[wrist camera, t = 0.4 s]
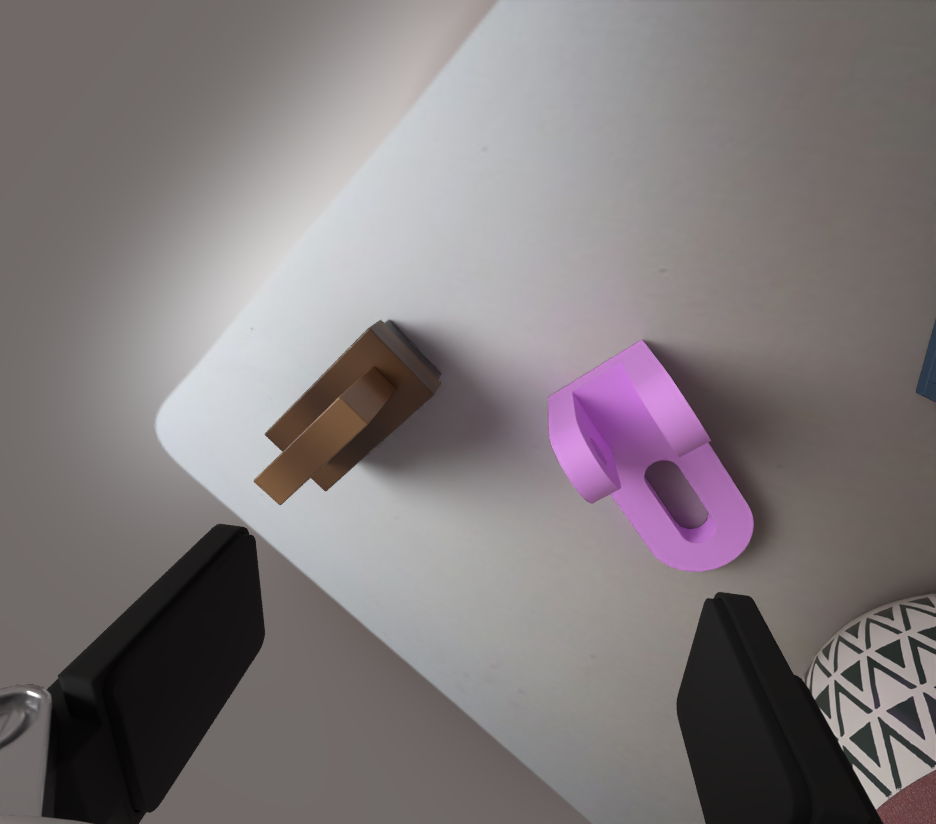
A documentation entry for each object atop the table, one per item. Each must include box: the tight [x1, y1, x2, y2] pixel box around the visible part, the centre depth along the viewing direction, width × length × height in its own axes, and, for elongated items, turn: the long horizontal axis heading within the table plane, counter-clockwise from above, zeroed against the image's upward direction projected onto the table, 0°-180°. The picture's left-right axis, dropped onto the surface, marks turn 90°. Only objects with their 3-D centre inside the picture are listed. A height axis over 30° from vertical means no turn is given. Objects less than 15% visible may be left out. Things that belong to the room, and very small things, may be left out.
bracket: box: [548, 340, 754, 572], centre depth 25 cm, size 13×6×7 cm, turn 36°
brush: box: [254, 320, 441, 505], centre depth 26 cm, size 8×4×8 cm, turn 134°
